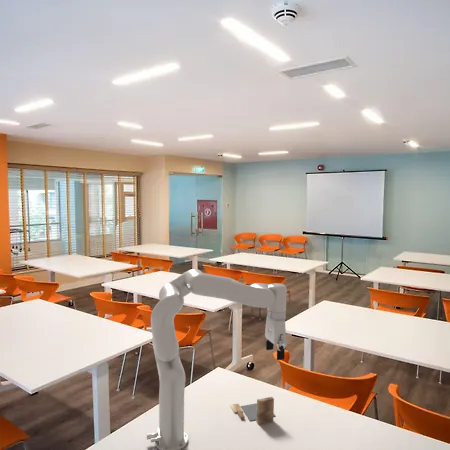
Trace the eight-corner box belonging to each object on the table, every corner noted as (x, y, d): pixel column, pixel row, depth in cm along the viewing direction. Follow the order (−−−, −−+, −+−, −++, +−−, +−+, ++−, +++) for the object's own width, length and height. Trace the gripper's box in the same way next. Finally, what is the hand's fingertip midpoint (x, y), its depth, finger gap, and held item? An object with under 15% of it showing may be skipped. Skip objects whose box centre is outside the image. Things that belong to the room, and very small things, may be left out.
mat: (249, 421, 153) (250, 420, 153) (240, 406, 163) (240, 406, 163) (275, 416, 157) (275, 415, 157) (265, 402, 167) (265, 401, 167)
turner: (238, 420, 153) (238, 417, 153) (230, 406, 164) (230, 403, 164) (247, 418, 155) (247, 415, 155) (238, 404, 165) (238, 402, 165)
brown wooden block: (258, 424, 151) (258, 401, 150) (256, 421, 153) (257, 399, 152) (273, 421, 153) (273, 398, 152) (271, 418, 155) (272, 396, 154)
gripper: (259, 308, 154) (258, 347, 156) (278, 321, 138) (276, 365, 140) (275, 307, 157) (273, 345, 158) (295, 320, 141) (293, 362, 142)
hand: (274, 354), depth 149 cm, fingers open, 9 cm apart
